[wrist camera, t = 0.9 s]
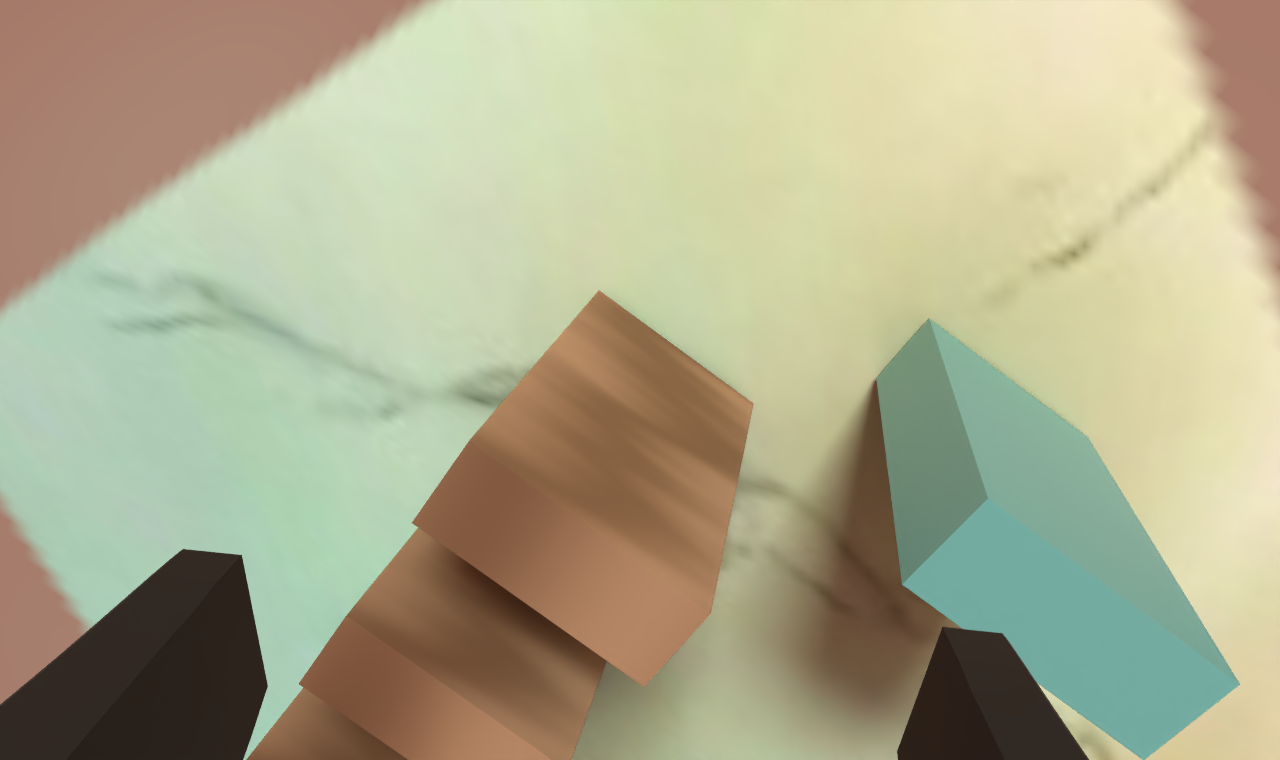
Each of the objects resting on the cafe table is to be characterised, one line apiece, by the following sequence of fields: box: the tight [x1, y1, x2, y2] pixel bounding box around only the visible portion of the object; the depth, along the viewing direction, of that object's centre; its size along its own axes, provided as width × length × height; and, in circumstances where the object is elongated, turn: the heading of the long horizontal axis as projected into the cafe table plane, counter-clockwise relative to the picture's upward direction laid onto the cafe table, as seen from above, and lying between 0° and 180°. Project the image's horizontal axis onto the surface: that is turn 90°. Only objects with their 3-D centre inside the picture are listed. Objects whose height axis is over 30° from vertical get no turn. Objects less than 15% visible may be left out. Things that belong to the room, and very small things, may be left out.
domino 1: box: [247, 688, 408, 760], centre depth 25 cm, size 5×2×10 cm, turn 55°
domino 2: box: [412, 291, 753, 687], centre depth 22 cm, size 5×2×10 cm, turn 55°
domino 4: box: [876, 319, 1240, 760], centre depth 20 cm, size 5×2×10 cm, turn 55°
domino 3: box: [299, 528, 606, 760], centre depth 23 cm, size 5×2×10 cm, turn 55°
